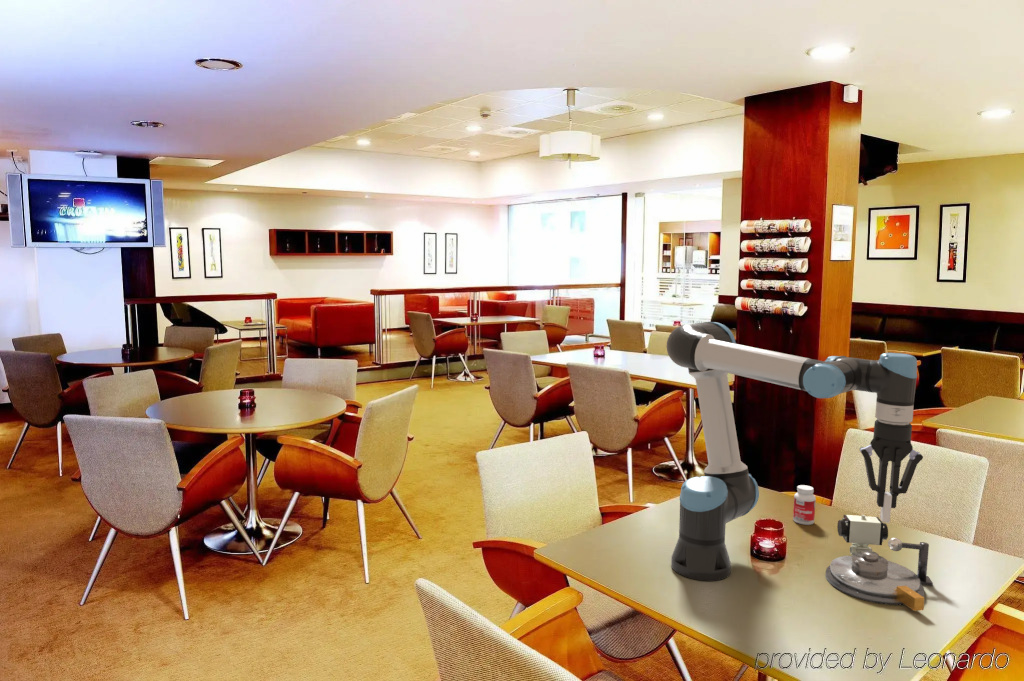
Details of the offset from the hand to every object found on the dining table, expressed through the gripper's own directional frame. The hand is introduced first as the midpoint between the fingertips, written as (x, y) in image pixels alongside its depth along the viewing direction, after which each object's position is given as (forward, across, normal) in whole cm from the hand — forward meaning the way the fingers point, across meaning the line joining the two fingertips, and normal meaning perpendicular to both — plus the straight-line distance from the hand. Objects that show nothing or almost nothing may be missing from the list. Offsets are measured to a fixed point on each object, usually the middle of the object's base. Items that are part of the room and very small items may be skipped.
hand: (884, 520), depth 160 cm
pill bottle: (+22, -11, +52) cm, 57 cm away
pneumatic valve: (+21, +1, +29) cm, 36 cm away
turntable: (+20, +2, +10) cm, 22 cm away
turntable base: (+21, +1, +12) cm, 24 cm away
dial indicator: (+21, +10, +17) cm, 29 cm away
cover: (+18, 0, +12) cm, 21 cm away
